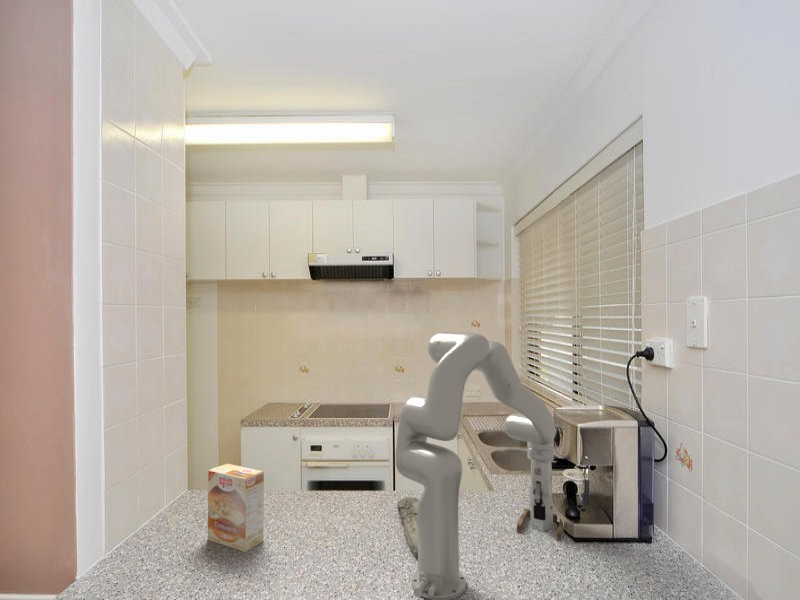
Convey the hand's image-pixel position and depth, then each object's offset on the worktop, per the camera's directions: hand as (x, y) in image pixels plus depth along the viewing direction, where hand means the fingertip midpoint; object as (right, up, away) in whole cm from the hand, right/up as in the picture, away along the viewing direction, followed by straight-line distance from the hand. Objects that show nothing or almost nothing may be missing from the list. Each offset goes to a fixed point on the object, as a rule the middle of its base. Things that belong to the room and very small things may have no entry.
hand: (541, 513), depth 131 cm
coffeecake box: (-88, -4, -7) cm, 89 cm away
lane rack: (0, -4, -1) cm, 4 cm away
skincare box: (0, -4, 0) cm, 4 cm away
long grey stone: (-37, -5, -1) cm, 38 cm away
